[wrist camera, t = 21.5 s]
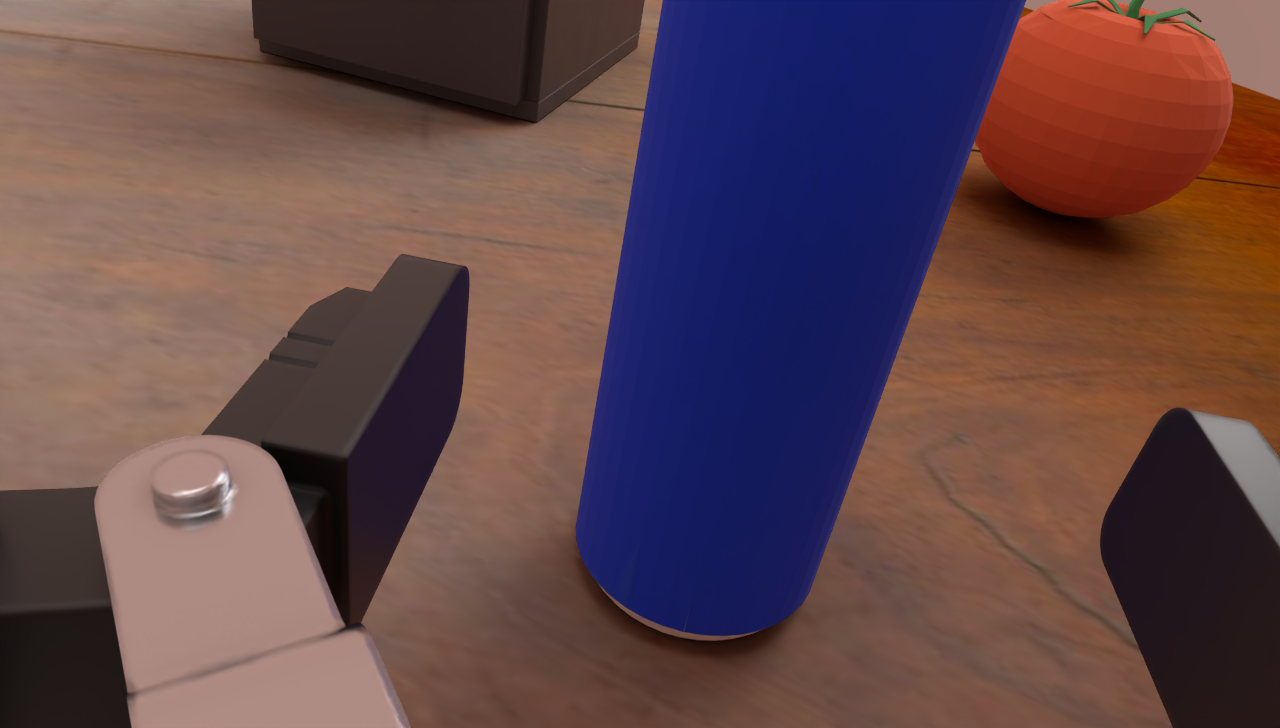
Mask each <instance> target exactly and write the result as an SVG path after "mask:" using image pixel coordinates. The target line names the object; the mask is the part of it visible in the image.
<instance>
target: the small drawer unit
mask: <svg viewBox="0 0 1280 728" xmlns="http://www.w3.org/2000/svg"><path fill="white" fill-rule="evenodd" d="M643 7H644V0H535V3H534V13H533V24H532V35H531V45H530V56H529V66H528V77H527V88H526V98H525V99H524V100H522V101H521V102H519V103H518V104H516V105H511V104H507V103H504V102H500V101H496V100H492V99H488V98H484V97H480V96H476V95H473V94H469V93H465V92H461V91H457V90H453V89H449V88H446V87H442V86H438V85H434V84H430V83H426V82H422V81H418V80H415V79H411V78H407V77H403V76H399V75H395V74H391V73H387V72H384V71H380V70H376V69H372V68H368V67H364V66H360V65H356V64H353V63H349V62H345V61H341V60H337V59H333V58H329V57H326V56H322V55H318V54H314V53H310V52H306V51H302V50H298V49H295V48H291V47H287V46H283V45H279V44H275V43H271V42H267V41H264V40H260V39H259V44H260V51H263V52H267V53H271V54H275V55H279V56H283V57H287V58H290V59H294V60H298V61H302V62H306V63H310V64H313V65H317V66H321V67H325V68H329V69H333V70H336V71H340V72H344V73H348V74H352V75H356V76H359V77H363V78H367V79H371V80H375V81H379V82H383V83H386V84H390V85H394V86H398V87H402V88H406V89H409V90H413V91H417V92H421V93H425V94H429V95H432V96H436V97H440V98H444V99H448V100H452V101H456V102H459V103H463V104H467V105H471V106H475V107H479V108H482V109H486V110H490V111H494V112H498V113H502V114H505V115H509V116H513V117H517V118H521V119H525V120H528V121H532V122H538V121H539V120H540V119H542V118H543V117H544V116H546V115H547V114H548V113H550V112H551V111H552V110H554V109H555V108H556V107H558V106H559V105H560V104H562V103H563V102H564V101H566V100H567V99H568V98H570V97H571V96H572V95H574V94H575V93H576V92H578V91H579V90H580V89H582V88H583V87H584V86H586V85H587V84H588V83H590V82H591V81H592V80H594V79H595V78H596V77H598V76H599V75H600V74H602V73H603V72H604V71H606V70H607V69H609V68H610V67H611V66H613V65H614V64H615V63H617V62H618V61H619V60H621V59H622V58H623V57H625V56H626V55H627V54H629V53H630V52H631V51H633V50H634V49H635V48H637V45H638V39H639V31H640V26H641V19H642V13H643Z"/></svg>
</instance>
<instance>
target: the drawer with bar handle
mask: <svg viewBox="0 0 1280 728" xmlns="http://www.w3.org/2000/svg"><path fill="white" fill-rule="evenodd" d="M534 3H535V0H252V13H253V29H254V38H256V39H260V40H264V41H267V42H271V43H275V44H279V45H283V46H287V47H291V48H295V49H298V50H302V51H306V52H310V53H314V54H318V55H322V56H326V57H329V58H333V59H337V60H341V61H345V62H349V63H353V64H356V65H360V66H364V67H368V68H372V69H376V70H380V71H384V72H387V73H391V74H395V75H399V76H403V77H407V78H411V79H415V80H418V81H422V82H426V83H430V84H434V85H438V86H442V87H446V88H449V89H453V90H457V91H461V92H465V93H469V94H473V95H476V96H480V97H484V98H488V99H492V100H496V101H500V102H504V103H507V104H511V105H516V104H518V103H519V102H521V101H522V100H524V99H525V98H526V88H527V77H528V66H529V56H530V45H531V35H532V24H533V13H534Z"/></svg>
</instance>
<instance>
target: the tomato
mask: <svg viewBox="0 0 1280 728" xmlns="http://www.w3.org/2000/svg"><path fill="white" fill-rule="evenodd" d="M1143 2H1144V0H1132V1H1131V3H1130V4H1129V5H1125V4H1121V3H1116V2H1115V1H1114V0H1107V1H1105V0H1060V1H1057V2H1054V3H1051V4H1048V5H1045V6H1042V7H1040V8H1038V9H1037V10H1035V11H1033V12H1031V13H1029V14H1028V15H1026V16H1024V17H1022V18H1020V19H1019V21H1018V24H1017V27H1016V29H1015V32H1014V35H1013V38H1012V40H1011V43H1010V46H1009V49H1008V51H1007V54H1006V57H1005V59H1004V62H1003V65H1002V68H1001V70H1000V73H999V76H998V79H997V81H996V84H995V87H994V89H993V92H992V95H991V98H990V100H989V103H988V106H987V109H986V111H985V114H984V117H983V119H982V122H981V125H980V128H979V130H978V133H977V136H976V139H975V143H976V145H977V146H978V148H979V149H980V151H981V154H982V157H983V159H984V162H985V163H986V165H987V166H988V168H989V169H990V170H991V171H992V172H993V173H994V174H995V175H996V177H997V178H998V179H999V180H1000V181H1001V182H1002V183H1003V185H1004V186H1005V187H1007V188H1008V189H1009V190H1011V191H1012V192H1013V193H1015V194H1016V195H1017V196H1019V197H1020V198H1022V199H1023V200H1025V201H1027V202H1029V203H1031V204H1033V205H1035V206H1037V207H1039V208H1042V209H1045V210H1048V211H1051V212H1053V213H1057V214H1061V215H1065V216H1075V217H1085V218H1109V217H1114V216H1120V215H1125V214H1130V213H1135V212H1139V211H1142V210H1144V209H1146V208H1148V207H1151V206H1153V205H1156V204H1158V203H1160V202H1163V201H1166V200H1168V199H1169V198H1171V197H1172V196H1174V195H1175V194H1177V193H1178V192H1180V191H1181V190H1183V189H1184V188H1186V187H1187V186H1188V185H1189V184H1190V183H1191V182H1192V181H1193V180H1194V179H1195V178H1196V177H1197V176H1198V175H1199V174H1200V173H1201V172H1202V171H1203V170H1204V169H1205V168H1206V167H1207V166H1208V165H1209V163H1210V162H1211V160H1212V159H1213V157H1214V156H1215V154H1216V153H1217V151H1218V150H1219V148H1220V147H1221V145H1222V143H1223V140H1224V138H1225V135H1226V133H1227V130H1228V127H1229V125H1230V122H1231V114H1232V106H1233V91H1232V82H1231V75H1230V72H1229V69H1228V67H1227V65H1226V63H1225V60H1224V58H1223V56H1222V54H1221V51H1220V50H1219V48H1218V47H1217V46H1216V45H1215V43H1214V42H1213V41H1212V40H1214V41H1215V39H1214V38H1212V37H1211V36H1209V35H1208V34H1207V33H1205V32H1204V31H1203V30H1201V29H1200V28H1198V27H1197V26H1195V25H1193V24H1192V23H1190V22H1189V21H1182V20H1180V19H1177V18H1174V17H1173V16H1176V15H1180V14H1183V13H1187V14H1189V15H1190V16H1192V17H1193V18H1195V19H1196V20H1198V21H1199V22H1201V20H1199V19H1198V18H1197V17H1196V16H1195V15H1194V14H1192V13H1191V12H1190V11H1188V10H1186V9H1183V8H1181V9H1177V10H1172V11H1168V12H1164V13H1157V12H1154V11H1150V10H1146V9H1143V8H1140V7H1141V5H1142V4H1143ZM1211 39H1212V40H1211Z"/></svg>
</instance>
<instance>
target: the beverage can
mask: <svg viewBox="0 0 1280 728" xmlns="http://www.w3.org/2000/svg"><path fill="white" fill-rule="evenodd" d="M1025 2H1026V0H663V3H662V9H661V15H660V21H659V27H658V33H657V39H656V45H655V52H654V58H653V64H652V70H651V76H650V82H649V88H648V94H647V100H646V106H645V112H644V118H643V124H642V130H641V136H640V142H639V148H638V154H637V160H636V166H635V172H634V178H633V184H632V191H631V197H630V203H629V209H628V215H627V221H626V227H625V233H624V239H623V245H622V251H621V257H620V263H619V269H618V275H617V281H616V287H615V293H614V299H613V305H612V311H611V317H610V323H609V330H608V336H607V342H606V348H605V354H604V360H603V366H602V372H601V378H600V384H599V390H598V396H597V402H596V408H595V414H594V420H593V426H592V432H591V438H590V444H589V450H588V456H587V462H586V469H585V475H584V481H583V487H582V493H581V499H580V505H579V511H578V517H577V523H576V540H577V544H578V548H579V552H580V555H581V557H582V559H583V561H584V563H585V565H586V567H587V569H588V571H589V572H590V574H591V575H592V576H593V578H594V579H595V580H596V582H597V583H598V584H599V586H600V587H601V588H602V590H603V591H604V592H605V593H606V594H607V595H608V597H609V598H610V599H611V600H612V601H613V602H614V603H615V604H616V605H617V606H618V607H620V608H621V609H622V610H623V611H625V612H626V613H627V614H629V615H630V616H631V617H633V618H635V619H636V620H638V621H640V622H641V623H643V624H645V625H647V626H649V627H651V628H654V629H656V630H658V631H661V632H663V633H667V634H670V635H674V636H677V637H681V638H688V639H694V640H710V641H716V640H727V639H733V638H738V637H742V636H746V635H749V634H753V633H755V632H758V631H761V630H763V629H766V628H768V627H770V626H773V625H775V624H777V623H779V622H781V621H782V620H784V619H785V618H787V617H788V616H790V615H791V614H792V613H793V612H794V611H795V610H796V609H797V608H798V607H799V606H800V605H801V604H802V603H803V601H804V600H805V598H806V597H807V595H808V593H809V592H810V589H811V586H812V583H813V581H814V578H815V575H816V572H817V570H818V567H819V564H820V562H821V559H822V556H823V553H824V551H825V548H826V545H827V542H828V540H829V537H830V534H831V532H832V529H833V526H834V523H835V521H836V518H837V515H838V512H839V510H840V507H841V504H842V501H843V499H844V496H845V493H846V491H847V488H848V485H849V482H850V480H851V477H852V474H853V471H854V469H855V466H856V463H857V461H858V458H859V455H860V452H861V450H862V447H863V444H864V441H865V439H866V436H867V433H868V431H869V428H870V425H871V422H872V420H873V417H874V414H875V411H876V409H877V406H878V403H879V401H880V398H881V395H882V392H883V390H884V387H885V384H886V381H887V379H888V376H889V373H890V371H891V368H892V365H893V362H894V360H895V357H896V354H897V351H898V349H899V346H900V343H901V340H902V338H903V335H904V332H905V330H906V327H907V324H908V321H909V319H910V316H911V313H912V310H913V308H914V305H915V302H916V300H917V297H918V294H919V291H920V289H921V286H922V283H923V280H924V278H925V275H926V272H927V270H928V267H929V264H930V261H931V259H932V256H933V253H934V250H935V248H936V245H937V242H938V240H939V237H940V234H941V231H942V229H943V226H944V223H945V220H946V218H947V215H948V212H949V210H950V207H951V204H952V201H953V199H954V196H955V193H956V190H957V188H958V185H959V182H960V179H961V177H962V174H963V171H964V169H965V166H966V163H967V160H968V158H969V155H970V152H971V149H972V147H973V144H974V141H975V139H976V136H977V133H978V130H979V128H980V125H981V122H982V119H983V117H984V114H985V111H986V109H987V106H988V103H989V100H990V98H991V95H992V92H993V89H994V87H995V84H996V81H997V79H998V76H999V73H1000V70H1001V68H1002V65H1003V62H1004V59H1005V57H1006V54H1007V51H1008V49H1009V46H1010V43H1011V40H1012V38H1013V35H1014V32H1015V29H1016V27H1017V24H1018V21H1019V18H1020V16H1021V13H1022V10H1023V8H1024V5H1025Z"/></svg>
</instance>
